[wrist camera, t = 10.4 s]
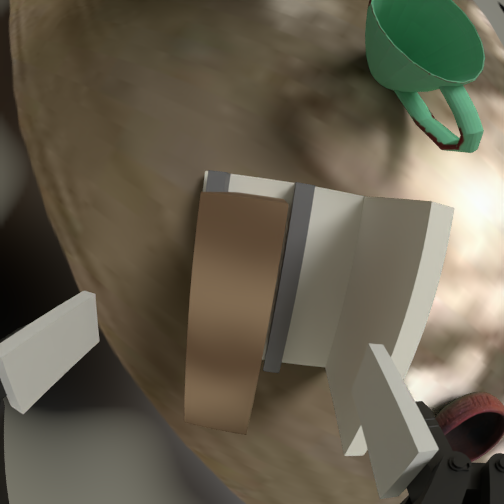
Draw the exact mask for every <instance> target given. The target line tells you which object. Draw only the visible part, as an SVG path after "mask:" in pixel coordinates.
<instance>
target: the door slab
mask: <svg viewBox="0 0 504 504" xmlns="http://www.w3.org/2000/svg"><path fill="white" fill-rule="evenodd" d="M288 207H289V204H288V203H287V202H286V201H285V200H284V199H281V198H274V197H268V196H261V195H254V194H247V193H240V192H201V194H200V202H199V210H198V219H197V227H196V236H195V246H194V256H193V266H192V277H191V289H190V302H189V316H188V331H187V350H186V372H185V408H184V422H185V423H189V424H193V425H197V426H202V427H206V428H211V429H216V430H221V431H226V432H232V433H238V434H244V435H246V434H247V429H248V425H249V420H250V415H251V411H252V406H253V401H254V396H255V391H256V386H257V382H258V377H259V372H260V366H261V361H262V356H263V351H264V346H265V341H266V335H267V330H268V325H269V319H270V314H271V308H272V303H273V297H274V291H275V286H276V280H277V274H278V268H279V262H280V257H281V251H282V244H283V238H284V232H285V226H286V220H287V213H288Z"/></svg>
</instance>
